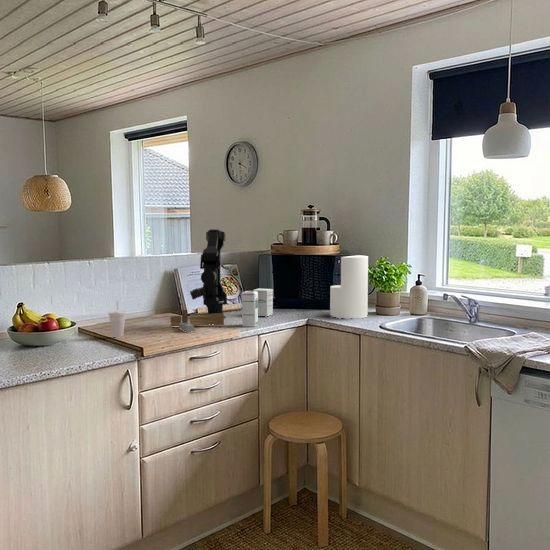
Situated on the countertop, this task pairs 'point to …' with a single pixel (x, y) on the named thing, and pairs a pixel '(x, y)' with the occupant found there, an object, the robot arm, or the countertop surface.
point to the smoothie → (117, 322)
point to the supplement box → (265, 302)
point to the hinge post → (179, 318)
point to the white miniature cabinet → (250, 308)
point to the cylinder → (351, 289)
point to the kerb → (186, 326)
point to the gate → (207, 319)
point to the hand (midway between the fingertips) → (210, 318)
